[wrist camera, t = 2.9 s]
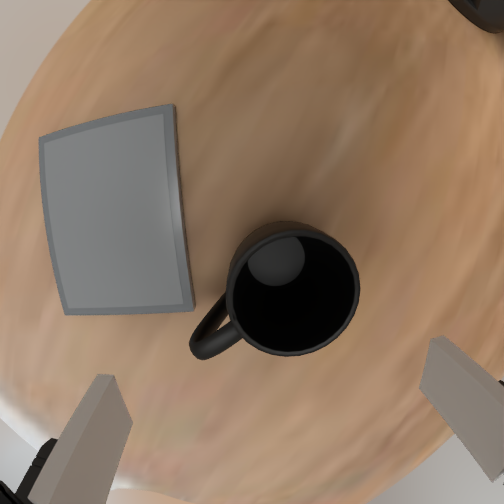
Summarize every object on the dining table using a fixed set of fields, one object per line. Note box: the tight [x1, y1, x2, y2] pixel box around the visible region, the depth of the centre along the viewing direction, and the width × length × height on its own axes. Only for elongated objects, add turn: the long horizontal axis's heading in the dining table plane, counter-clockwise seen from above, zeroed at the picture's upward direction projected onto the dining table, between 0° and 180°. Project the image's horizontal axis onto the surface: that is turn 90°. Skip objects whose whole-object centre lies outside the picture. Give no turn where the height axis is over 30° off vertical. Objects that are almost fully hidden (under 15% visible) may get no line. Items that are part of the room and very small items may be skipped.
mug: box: [189, 221, 360, 360], centre depth 22 cm, size 8×12×10 cm
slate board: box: [39, 104, 195, 315], centre depth 24 cm, size 18×14×1 cm
